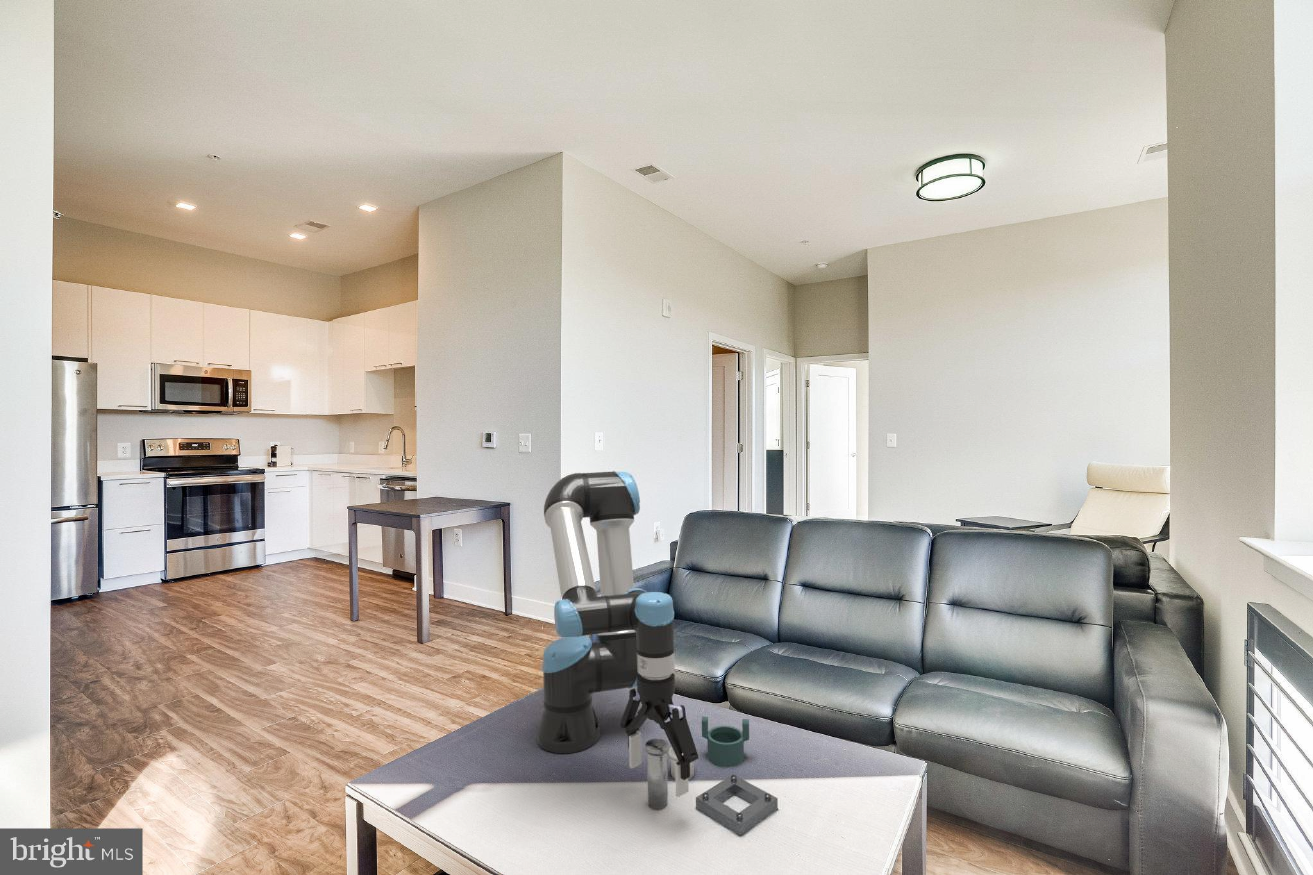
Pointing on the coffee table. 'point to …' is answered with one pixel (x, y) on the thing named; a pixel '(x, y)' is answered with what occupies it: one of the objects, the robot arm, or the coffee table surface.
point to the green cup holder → (725, 743)
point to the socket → (730, 818)
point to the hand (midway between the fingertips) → (657, 779)
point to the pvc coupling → (674, 758)
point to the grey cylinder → (657, 773)
